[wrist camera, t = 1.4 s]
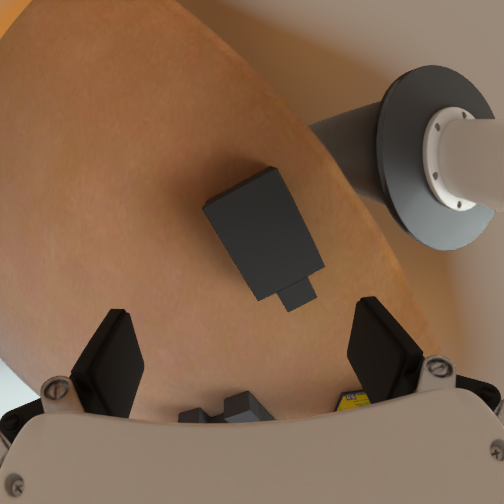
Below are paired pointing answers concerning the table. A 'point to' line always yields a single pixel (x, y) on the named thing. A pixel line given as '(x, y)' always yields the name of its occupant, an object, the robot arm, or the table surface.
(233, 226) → the black block
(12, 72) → the table surface
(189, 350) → the table surface
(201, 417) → the charcoal block
